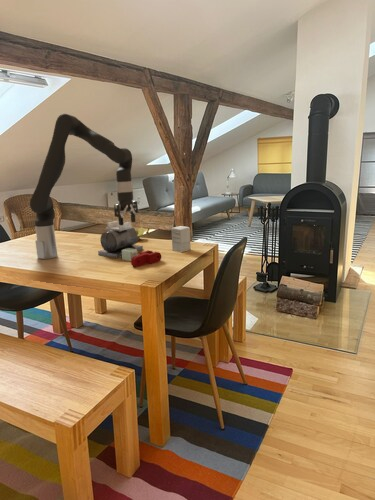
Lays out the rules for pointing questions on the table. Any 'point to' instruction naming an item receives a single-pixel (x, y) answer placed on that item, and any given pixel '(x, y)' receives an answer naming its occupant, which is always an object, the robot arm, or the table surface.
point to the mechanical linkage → (145, 258)
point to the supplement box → (181, 238)
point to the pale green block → (128, 254)
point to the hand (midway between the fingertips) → (127, 223)
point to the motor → (118, 239)
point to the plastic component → (140, 232)
